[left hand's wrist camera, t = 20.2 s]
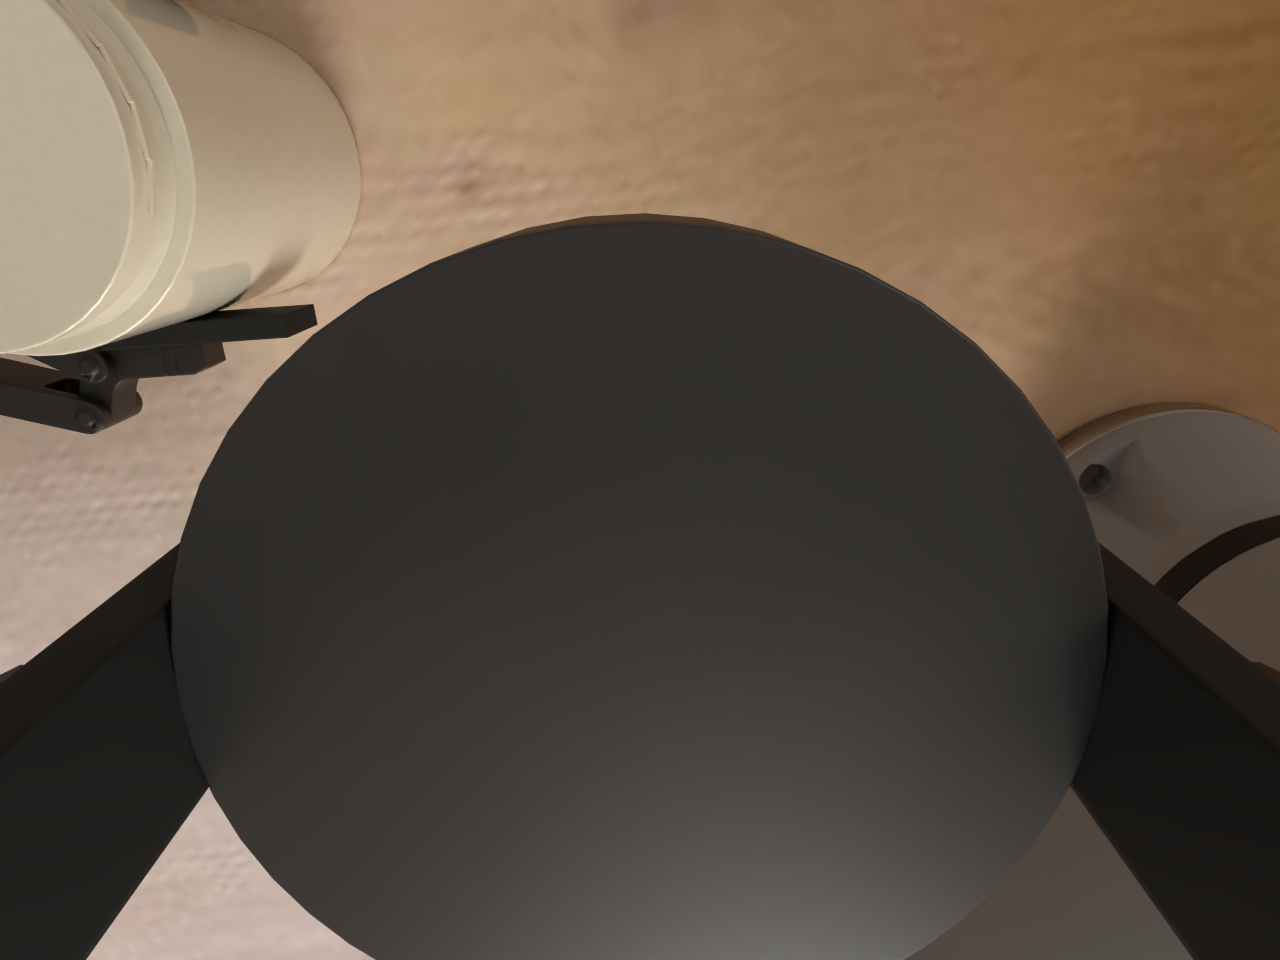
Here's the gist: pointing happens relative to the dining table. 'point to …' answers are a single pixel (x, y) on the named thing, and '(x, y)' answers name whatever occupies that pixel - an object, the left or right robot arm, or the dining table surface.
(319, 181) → the jar
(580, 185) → the dining table surface
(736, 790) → the lid
